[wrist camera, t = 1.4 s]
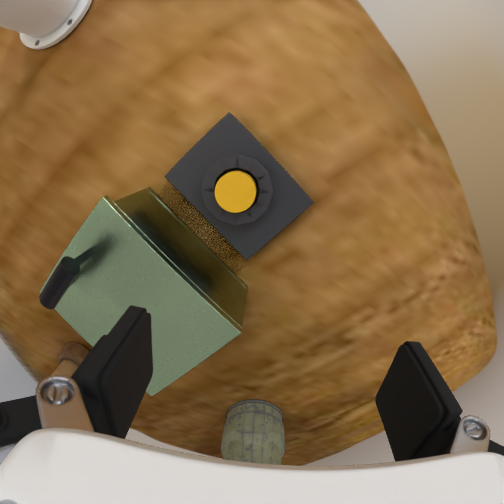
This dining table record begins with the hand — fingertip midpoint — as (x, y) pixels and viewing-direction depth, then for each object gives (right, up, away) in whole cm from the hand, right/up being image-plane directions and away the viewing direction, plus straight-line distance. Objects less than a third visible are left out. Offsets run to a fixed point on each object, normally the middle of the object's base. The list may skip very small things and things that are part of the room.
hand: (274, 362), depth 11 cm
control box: (-2, +11, +21) cm, 24 cm away
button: (-2, +10, +18) cm, 20 cm away
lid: (-12, -1, +17) cm, 21 cm away
